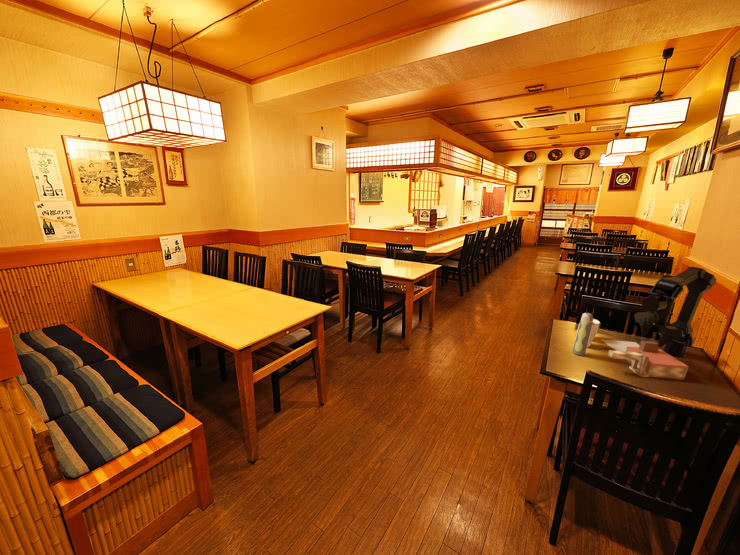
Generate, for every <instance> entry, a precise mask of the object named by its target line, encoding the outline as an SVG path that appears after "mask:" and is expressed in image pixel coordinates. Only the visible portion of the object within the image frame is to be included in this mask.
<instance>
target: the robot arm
mask: <svg viewBox="0 0 740 555" xmlns="http://www.w3.org/2000/svg"><path fill="white" fill-rule="evenodd" d="M716 282H717V277H715V275H714V274H712V273H711V272H709V271H707V270H706V269H704V268H702V267H697V266H687V268H686V269H685V270H683V271H682V272H680V273H677V274H675V275H674V276H668V277H667V276H666V277H663V278H660V279H658V280H657V281H656V282H655V284H654V285H653V287H652V288H651V289H650V291H649V292H648V294H649V297H646V298H644V299H643V300H642V302H641V306H642V308H643V309H644V311H645V312H643V311H642V312H640V311H639V312H635V314H634V315H633V318H634V322H635V323H638V324H639V326H640V334H641V337H642V338H645V337H647V335H648V334H649V332H650V330H651V329H652V327H653V326H656V327H658V328H659V332H657V333H658V335H659V339H658V342H657V343H658V347H659V348H660V349H661V350H663V351H664V352H666V353H668V354H669V355H671V356H672V357H674V358H687V357H688V356H687V355H685V352H686V350H687V348H692V347H693V344H694V343H695V341H694V336H693V332H694V331H693V327H692V321H693V318H694V316H695V315H696V312H697V309H698V306H699V304H700V303H701V300H702V298H703V295H704V294H705V293H707V292H709V291H711V290H712V288H713V287H714V286H715V285H716ZM684 287H686V288H687V293H686V296H685V298H684V301H683V303H682V306H681V308H680V311H679V314H678V316H677V318H676V320H675V321H673V322H672V323H671V322H670V321H669V318H670V316H671V317H672V316H674V312H672V310H673V306H674V304H675V301H676V299H677V298H678V297H679V296H680V295H681V294H682V292H684ZM662 347H664V348H662Z"/></svg>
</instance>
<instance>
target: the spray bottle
mask: <svg viewBox="0 0 740 555" xmlns="http://www.w3.org/2000/svg"><path fill="white" fill-rule="evenodd" d="M593 319H594V316H593V314H592V313H590V312H584V313H582V315H581V318H580V321H579V323H580V325H579V324H578V326H579V328H578V327H577V330H578V332H577V331H576V334H577V336H576V335H575V338H576V339H574V343H573V347H572V353H573V354H575V355H576V356H579V357H582V356H585V355H586V351H587V348H588V347H587V343H588V339H589V335H590V331H591V327H592V323H593V322H592V321H593Z"/></svg>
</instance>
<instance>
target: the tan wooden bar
mask: <svg viewBox="0 0 740 555" xmlns="http://www.w3.org/2000/svg"><path fill="white" fill-rule="evenodd" d="M643 355H645V354H643V353H637V352H625V351H615V350H614V349H613V350H611V349H610V350H608V353H607V356H608V357H610V358H611V359H620V360H621V359H622V360H625V359H631V360H642V358H643ZM645 356H646V355H645Z"/></svg>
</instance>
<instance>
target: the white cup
mask: <svg viewBox="0 0 740 555" xmlns="http://www.w3.org/2000/svg"><path fill="white" fill-rule="evenodd" d="M592 322H594V323H595V330H594V334H593V338H592V341H591V342H593V341H594V340H595V338H596V336H597V333H598V329H599V327H600V324H601V322H600V321H599V320H598V319H595V318H593V321H592Z"/></svg>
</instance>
